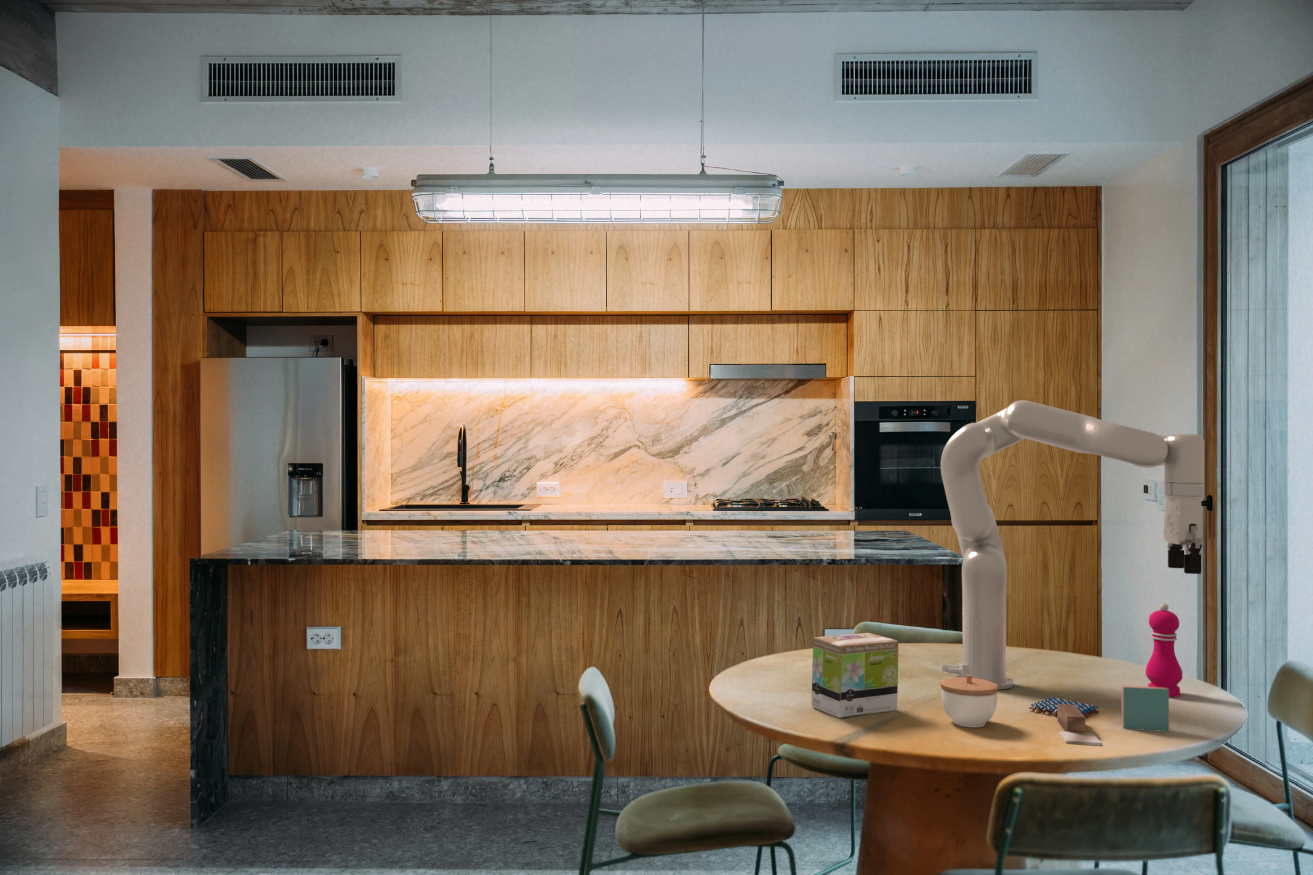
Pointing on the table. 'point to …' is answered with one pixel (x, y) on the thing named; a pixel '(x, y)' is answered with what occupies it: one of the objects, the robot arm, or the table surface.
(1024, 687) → the table surface
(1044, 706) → the woven mat
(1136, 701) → the tile
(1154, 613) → the pepper mill
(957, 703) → the lidded jar
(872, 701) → the tea box
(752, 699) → the table surface
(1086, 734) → the turner
